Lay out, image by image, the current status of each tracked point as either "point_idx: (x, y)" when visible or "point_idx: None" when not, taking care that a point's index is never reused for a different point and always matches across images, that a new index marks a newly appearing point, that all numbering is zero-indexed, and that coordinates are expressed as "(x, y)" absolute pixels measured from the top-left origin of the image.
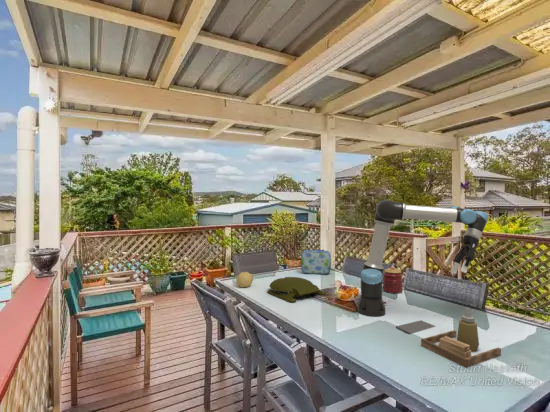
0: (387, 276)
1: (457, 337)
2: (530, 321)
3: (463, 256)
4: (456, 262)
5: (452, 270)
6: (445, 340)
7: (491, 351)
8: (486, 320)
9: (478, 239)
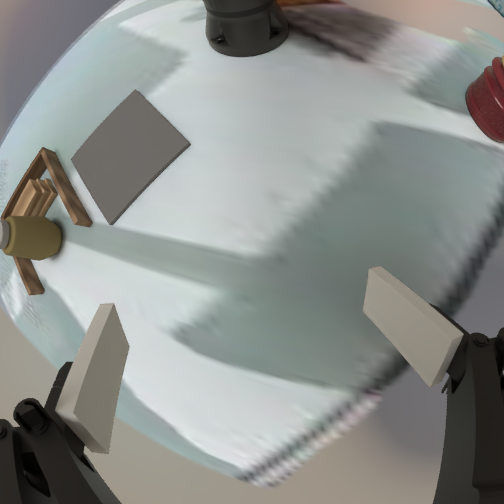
0: (492, 63)
1: (36, 216)
2: (287, 473)
3: (441, 482)
4: (444, 354)
5: (381, 286)
6: (24, 189)
7: (18, 270)
8: (263, 370)
9: None
